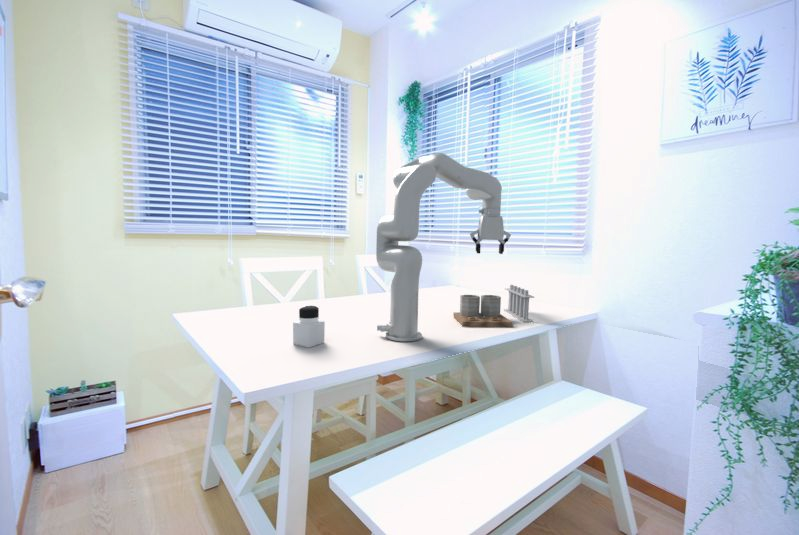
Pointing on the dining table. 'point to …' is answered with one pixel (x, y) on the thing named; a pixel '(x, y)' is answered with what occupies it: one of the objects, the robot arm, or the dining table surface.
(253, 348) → the dining table surface
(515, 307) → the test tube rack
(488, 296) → the stand
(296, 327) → the medicine bottle
